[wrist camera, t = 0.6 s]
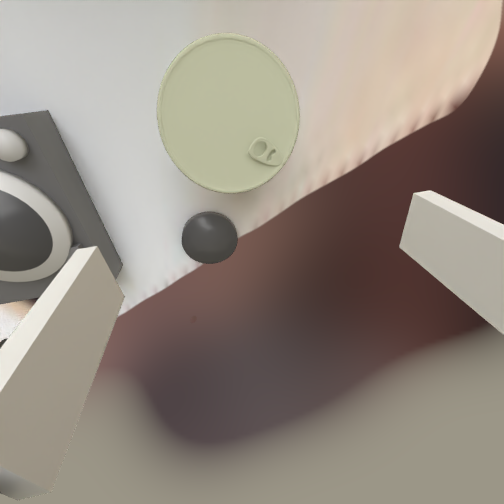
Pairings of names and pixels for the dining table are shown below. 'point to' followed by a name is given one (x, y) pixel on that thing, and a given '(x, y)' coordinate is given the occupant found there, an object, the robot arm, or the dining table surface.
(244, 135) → the can
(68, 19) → the dining table surface
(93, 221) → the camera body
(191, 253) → the lens cap
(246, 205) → the dining table surface
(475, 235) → the robot arm
